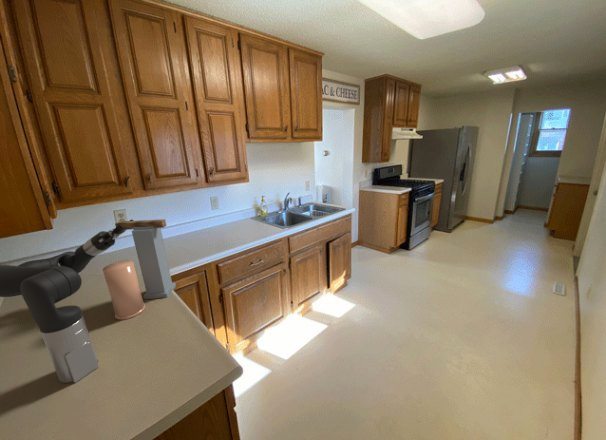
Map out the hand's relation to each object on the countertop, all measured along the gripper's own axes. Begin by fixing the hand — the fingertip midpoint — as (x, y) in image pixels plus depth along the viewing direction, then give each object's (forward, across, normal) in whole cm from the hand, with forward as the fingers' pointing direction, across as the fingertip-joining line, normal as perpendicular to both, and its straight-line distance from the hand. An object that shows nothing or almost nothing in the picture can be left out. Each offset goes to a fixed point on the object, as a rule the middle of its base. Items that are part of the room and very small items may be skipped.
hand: (128, 223), depth 110 cm
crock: (-16, +14, -30) cm, 37 cm away
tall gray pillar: (-11, 0, -33) cm, 35 cm away
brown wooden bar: (+3, 0, -5) cm, 6 cm away
